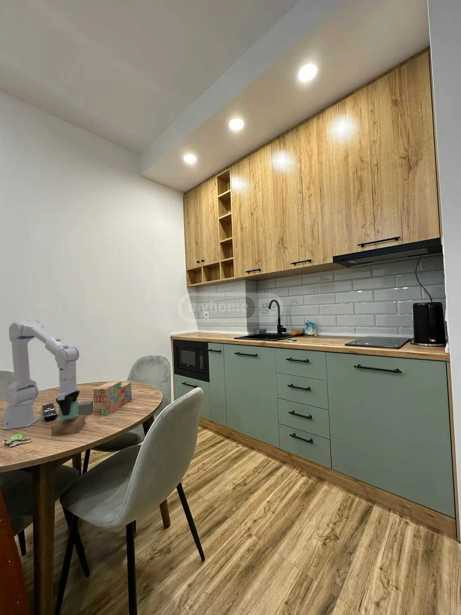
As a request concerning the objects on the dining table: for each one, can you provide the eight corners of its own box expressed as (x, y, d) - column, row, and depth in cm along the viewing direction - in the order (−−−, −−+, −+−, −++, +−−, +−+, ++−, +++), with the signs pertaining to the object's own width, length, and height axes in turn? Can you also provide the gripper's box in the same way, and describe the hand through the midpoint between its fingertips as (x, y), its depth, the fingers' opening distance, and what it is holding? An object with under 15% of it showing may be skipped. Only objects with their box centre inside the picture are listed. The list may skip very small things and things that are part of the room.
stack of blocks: (121, 399, 136) (120, 376, 137) (131, 399, 135) (131, 376, 136) (94, 415, 115) (93, 388, 115) (106, 415, 114) (105, 388, 114)
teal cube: (59, 419, 98) (59, 406, 98) (64, 415, 103) (64, 402, 103) (73, 418, 99) (73, 405, 100) (78, 413, 104) (78, 401, 104)
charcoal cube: (77, 416, 115) (77, 405, 115) (81, 412, 120) (81, 401, 120) (90, 415, 116) (89, 404, 116) (93, 411, 121) (93, 400, 121)
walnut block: (51, 437, 96) (51, 426, 96) (61, 427, 104) (61, 417, 105) (77, 433, 98) (77, 423, 98) (85, 424, 106) (85, 414, 107)
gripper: (72, 381, 96) (73, 418, 95) (84, 373, 110) (85, 405, 109) (51, 383, 94) (51, 420, 94) (66, 375, 108) (67, 407, 108)
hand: (68, 412), depth 101 cm, fingers closed on teal cube, 5 cm apart
